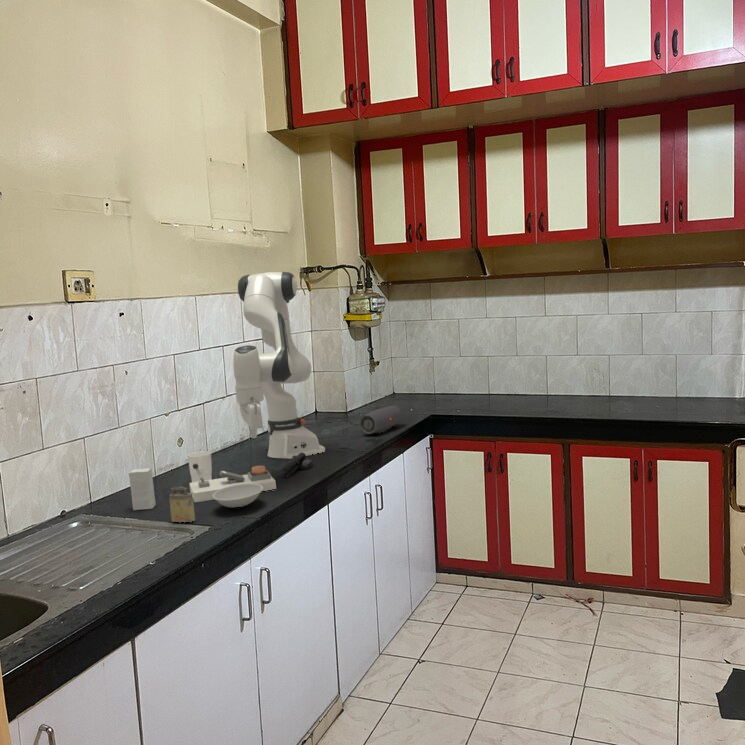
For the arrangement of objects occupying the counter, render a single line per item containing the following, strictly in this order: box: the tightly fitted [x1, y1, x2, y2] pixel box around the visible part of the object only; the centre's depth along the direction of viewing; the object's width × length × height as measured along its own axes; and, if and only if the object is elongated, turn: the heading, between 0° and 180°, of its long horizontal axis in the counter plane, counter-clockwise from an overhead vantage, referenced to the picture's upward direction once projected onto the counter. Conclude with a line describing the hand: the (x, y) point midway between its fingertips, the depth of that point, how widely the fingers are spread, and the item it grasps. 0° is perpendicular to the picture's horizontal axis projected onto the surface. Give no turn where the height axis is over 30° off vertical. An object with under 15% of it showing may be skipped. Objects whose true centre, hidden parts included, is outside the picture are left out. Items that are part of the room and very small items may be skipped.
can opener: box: [281, 453, 314, 478], centre depth 263 cm, size 18×7×6 cm, turn 158°
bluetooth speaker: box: [358, 405, 403, 435], centre depth 323 cm, size 23×9×10 cm, turn 148°
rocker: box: [219, 470, 245, 481], centre depth 242 cm, size 8×4×1 cm, turn 109°
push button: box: [251, 465, 266, 476], centre depth 245 cm, size 4×4×2 cm
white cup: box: [187, 450, 213, 483], centre depth 257 cm, size 8×8×10 cm
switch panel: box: [189, 469, 277, 503], centre depth 243 cm, size 26×14×5 cm, turn 109°
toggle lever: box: [193, 464, 204, 482], centre depth 239 cm, size 2×2×7 cm
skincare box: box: [128, 467, 156, 511], centre depth 230 cm, size 6×4×12 cm
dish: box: [212, 483, 263, 509], centre depth 223 cm, size 18×14×5 cm
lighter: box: [168, 485, 196, 524], centre depth 213 cm, size 7×4×10 cm, turn 77°
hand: (253, 437), depth 244 cm, fingers closed
